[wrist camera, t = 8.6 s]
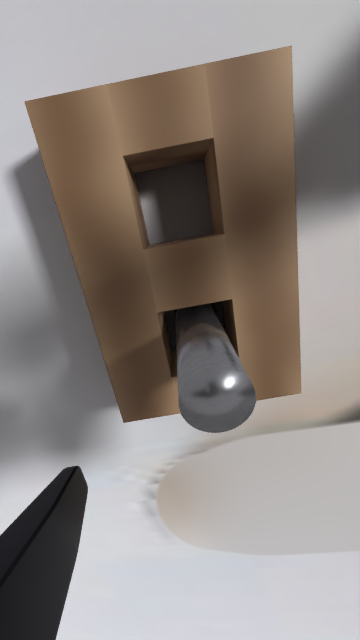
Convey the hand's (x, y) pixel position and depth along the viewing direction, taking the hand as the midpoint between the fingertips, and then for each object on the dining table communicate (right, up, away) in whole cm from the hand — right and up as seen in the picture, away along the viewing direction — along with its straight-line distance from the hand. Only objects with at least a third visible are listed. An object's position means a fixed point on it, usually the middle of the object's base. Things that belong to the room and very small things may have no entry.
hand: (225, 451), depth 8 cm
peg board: (-1, +8, +10) cm, 13 cm away
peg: (0, +4, +12) cm, 12 cm away
